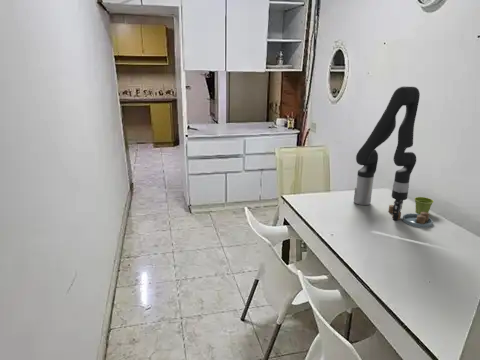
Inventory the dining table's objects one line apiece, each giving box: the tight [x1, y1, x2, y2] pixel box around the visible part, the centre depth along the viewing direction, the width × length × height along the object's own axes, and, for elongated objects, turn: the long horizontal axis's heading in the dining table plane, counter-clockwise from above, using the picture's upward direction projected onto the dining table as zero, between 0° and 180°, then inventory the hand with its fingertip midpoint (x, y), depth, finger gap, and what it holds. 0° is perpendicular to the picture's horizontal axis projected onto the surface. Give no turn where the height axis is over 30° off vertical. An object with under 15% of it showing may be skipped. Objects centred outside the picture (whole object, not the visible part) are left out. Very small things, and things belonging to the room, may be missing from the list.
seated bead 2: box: [420, 212, 430, 223], centre depth 181 cm, size 4×4×4 cm
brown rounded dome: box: [391, 212, 402, 221], centre depth 185 cm, size 4×4×4 cm
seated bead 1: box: [416, 215, 426, 224], centre depth 177 cm, size 4×4×4 cm
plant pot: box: [414, 196, 435, 214], centre depth 191 cm, size 9×9×9 cm
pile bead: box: [388, 204, 394, 214], centre depth 193 cm, size 4×4×4 cm
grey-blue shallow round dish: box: [401, 213, 434, 228], centre depth 181 cm, size 14×14×3 cm
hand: (396, 219), depth 185 cm, fingers open, 4 cm apart
